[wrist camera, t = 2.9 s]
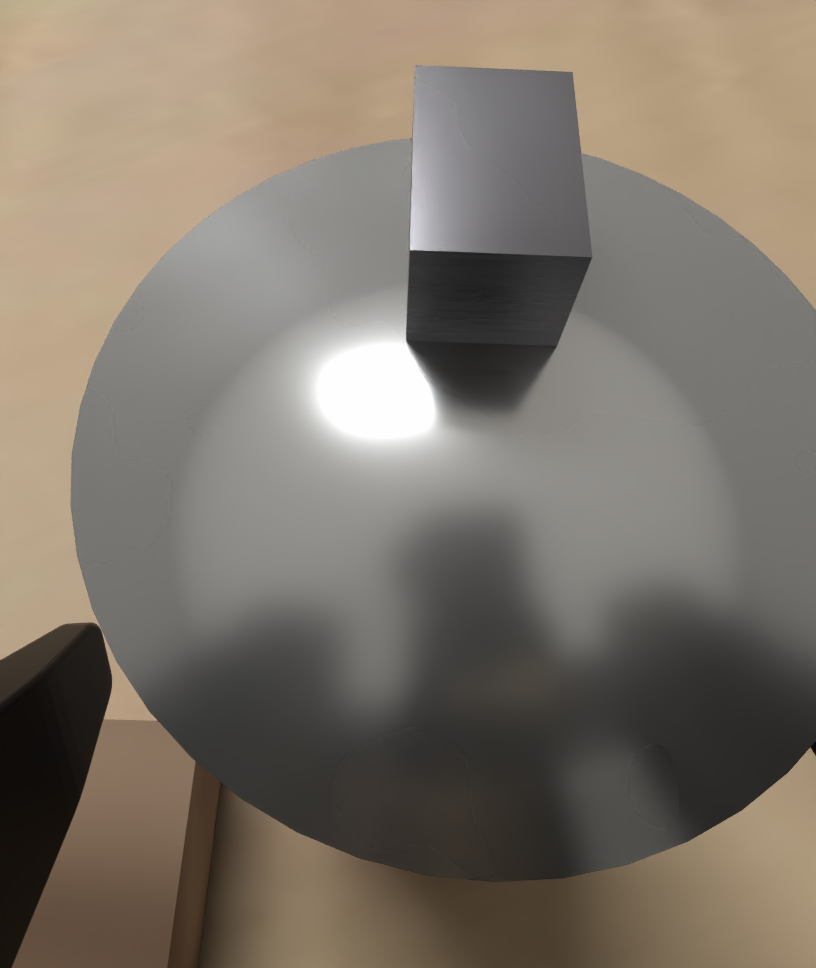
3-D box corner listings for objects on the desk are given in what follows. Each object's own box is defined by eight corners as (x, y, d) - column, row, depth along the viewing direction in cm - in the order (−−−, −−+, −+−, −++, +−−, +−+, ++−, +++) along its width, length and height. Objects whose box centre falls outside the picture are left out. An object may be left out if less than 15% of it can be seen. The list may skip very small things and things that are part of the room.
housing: (540, 806, 16) (1195, 927, 3) (283, 800, 16) (-169, 899, 3) (528, 559, 18) (866, 42, 5) (305, 553, 18) (109, 10, 5)
